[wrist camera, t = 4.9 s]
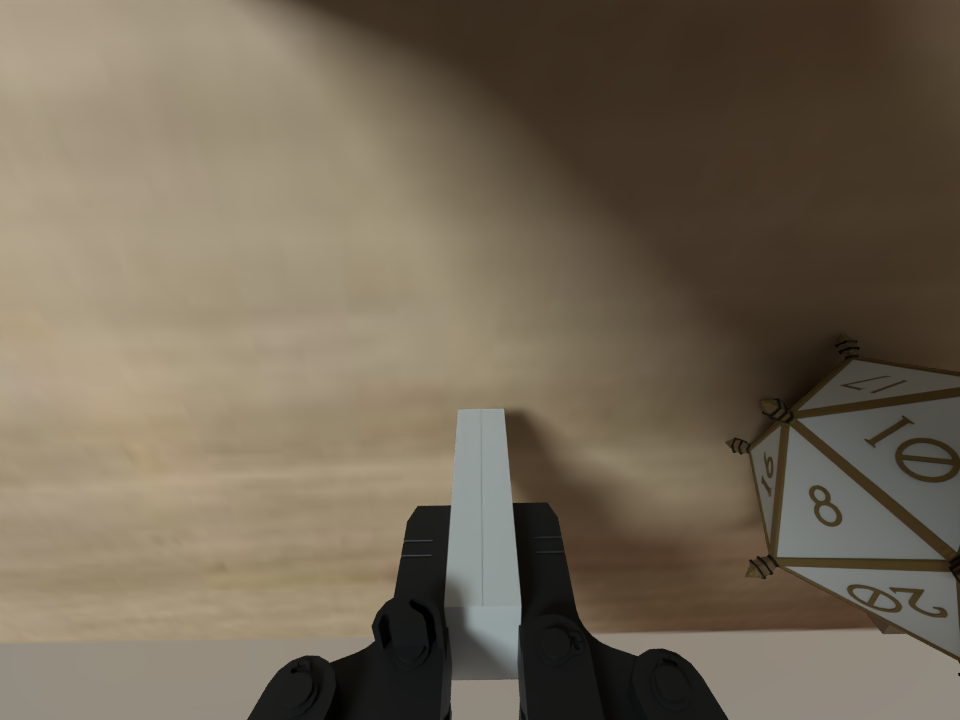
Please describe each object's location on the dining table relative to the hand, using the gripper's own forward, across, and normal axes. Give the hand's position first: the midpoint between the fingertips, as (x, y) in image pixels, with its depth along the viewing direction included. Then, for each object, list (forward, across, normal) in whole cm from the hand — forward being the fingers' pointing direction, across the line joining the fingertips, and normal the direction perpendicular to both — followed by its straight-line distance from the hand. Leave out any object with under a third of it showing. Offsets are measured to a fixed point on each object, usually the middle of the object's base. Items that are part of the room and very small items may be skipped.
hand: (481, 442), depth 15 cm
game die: (+2, +12, 0) cm, 12 cm away
